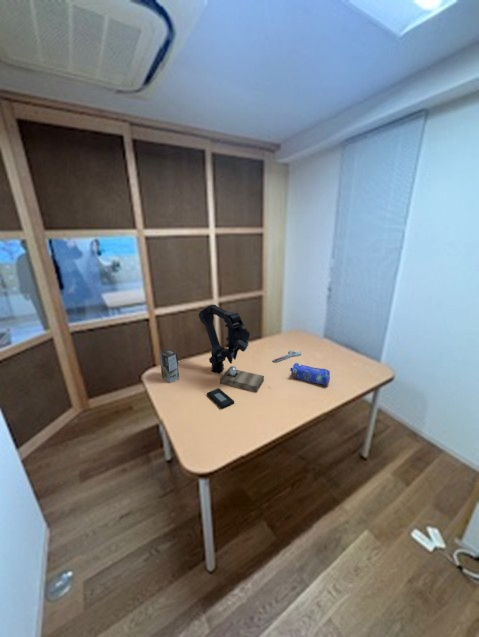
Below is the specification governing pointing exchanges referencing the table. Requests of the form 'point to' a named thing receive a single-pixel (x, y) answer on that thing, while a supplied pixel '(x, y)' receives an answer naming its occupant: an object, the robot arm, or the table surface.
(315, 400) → the table surface
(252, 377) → the hitch block
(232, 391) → the table surface
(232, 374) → the steel peg
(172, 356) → the coffee box
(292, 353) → the adjustable wrench
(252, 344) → the table surface
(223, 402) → the vhs tape
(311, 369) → the pencil case
